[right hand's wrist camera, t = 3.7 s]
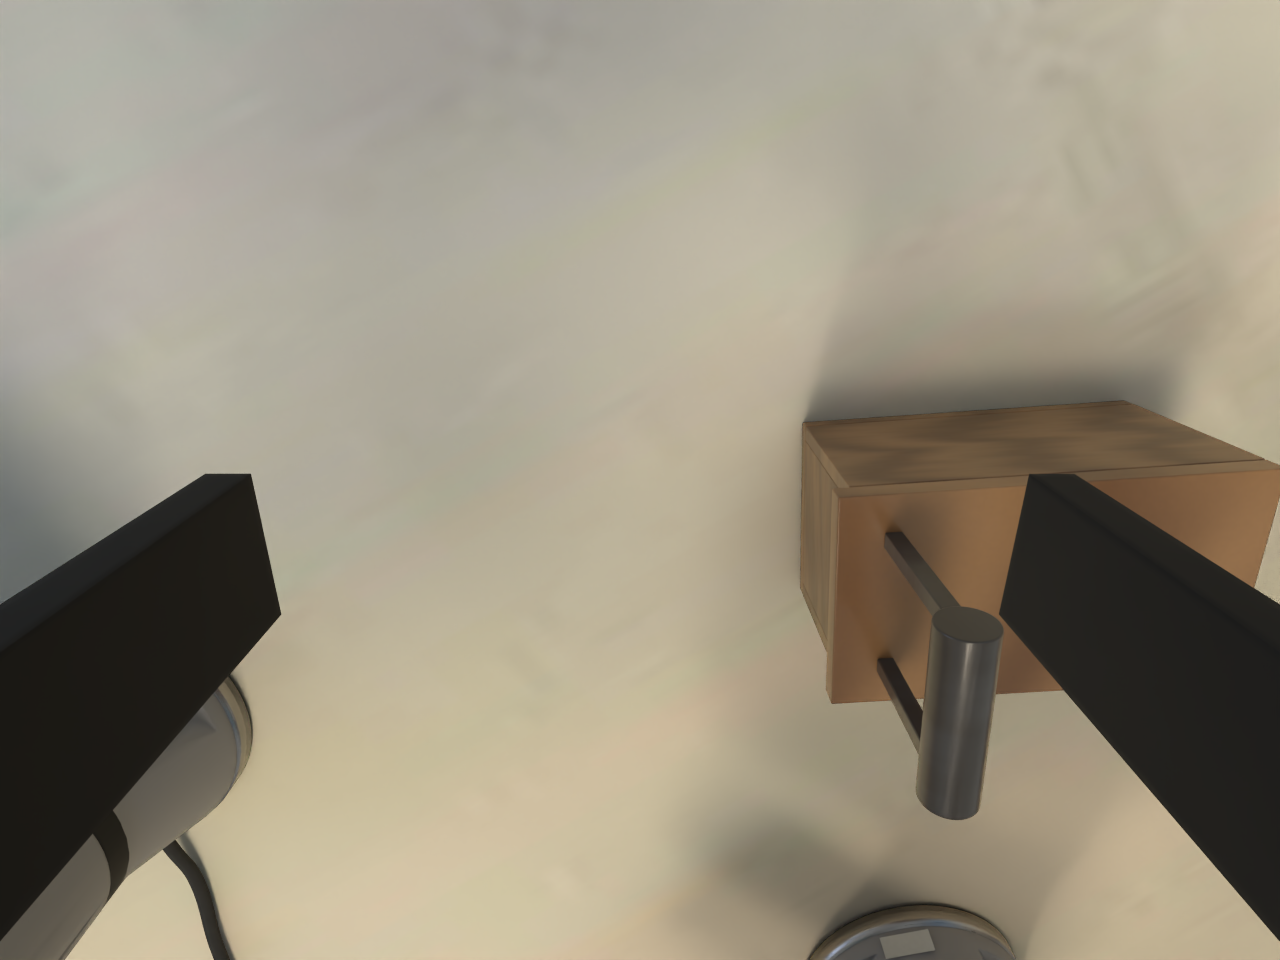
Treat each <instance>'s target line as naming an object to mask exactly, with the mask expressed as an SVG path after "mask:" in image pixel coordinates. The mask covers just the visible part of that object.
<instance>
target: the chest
mask: <svg viewBox="0 0 1280 960" xmlns="http://www.w3.org/2000/svg"><path fill="white" fill-rule="evenodd" d="M1258 460H1265V459H1264V458H1261V457H1259V456H1257V455H1254V454H1252V453H1249V452H1247V451H1245V450H1242V449H1240V448H1237V447H1235V446H1233V445H1230V444H1228V443H1226V442H1223V441H1221V440H1218V439H1216V438H1214V437H1211V436H1209V435H1206V434H1204V433H1202V432H1199V431H1197V430H1194V429H1192V428H1190V427H1187V426H1185V425H1182V424H1180V423H1178V422H1175V421H1173V420H1170V419H1168V418H1166V417H1163V416H1161V415H1158V414H1156V413H1154V412H1151V411H1149V410H1146V409H1144V408H1142V407H1139V406H1137V405H1134V404H1131V403H1129V402H1126V401H1110V402H1096V403H1081V404H1067V405H1052V406H1037V407H1023V408H1008V409H993V410H979V411H964V412H949V413H935V414H920V415H905V416H891V417H876V418H862V419H847V420H832V421H818V422H804V423H803V430H802V504H801V578H800V588H801V591H802V593H803V596H804V598H805V601H806V603H807V606H808V608H809V610H810V613H811V615H812V618H813V620H814V622H815V625H816V627H817V630H818V632H819V635H820V637H821V639H822V642H823V644H824V647H825V649H826V651H827V641H828V609H829V576H830V543H831V511H832V489H833V488H848V487H863V486H878V485H893V484H909V483H924V482H939V481H954V480H969V479H985V478H1000V477H1015V476H1029V474H1060V473H1076V472H1091V471H1106V470H1121V469H1136V468H1151V467H1167V466H1182V465H1197V464H1212V463H1227V462H1242V461H1258Z"/></svg>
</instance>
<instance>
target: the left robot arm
mask: <svg viewBox="0 0 1280 960" xmlns="http://www.w3.org/2000/svg"><path fill="white" fill-rule="evenodd" d="M810 960H1016V958H1015V956H1014V954H1013V952H1012V950H1011V948H1010V946H1009V944H1008V943H1007V941H1006V939H1005V938H1004V937H1003V935H1002V934H1001V933H1000V932H999V931H998V930H997V929H996V928H995V927H993V926H992V925H991V924H989V923H988V922H986V921H985V920H983V919H981V918H979V917H977V916H975V915H973V914H970V913H968V912H965V911H961V910H958V909H953V908H948V907H941V906H929V905H916V906H904V907H897V908H892V909H887V910H883V911H879V912H876V913H873V914H870V915H867V916H864V917H862V918H860V919H857V920H855V921H853V922H851V923H849V924H848V925H846V926H844V927H842V928H841V929H839V930H838V931H836V932H835V933H834V934H832V935H831V936H830V937H829V938H827V939H826V940H825V941H824V942H823V943H822V944H821V945H820V946H819V948H818V949H817V950H816V951H815V952H814V954H813V955H812V957H811V958H810Z"/></svg>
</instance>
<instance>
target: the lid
mask: <svg viewBox="0 0 1280 960" xmlns="http://www.w3.org/2000/svg"><path fill="white" fill-rule="evenodd" d="M1060 474H1076V475H1077V476H1079V477H1080V478H1082V479H1083V480H1085V481H1087V482H1088V483H1090V484H1091V485H1093V486H1094V487H1096V488H1098V489H1099V490H1101V491H1102V492H1104V493H1105V494H1107V495H1109V496H1110V497H1112V498H1113V499H1115V500H1116V501H1118V502H1120V503H1121V504H1123V505H1124V506H1126V507H1127V508H1129V509H1131V510H1132V511H1134V512H1135V513H1137V514H1138V515H1140V516H1141V517H1143V518H1145V519H1146V520H1148V521H1149V522H1151V523H1152V524H1154V525H1156V526H1157V527H1159V528H1160V529H1162V530H1163V531H1165V532H1167V533H1168V534H1170V535H1171V536H1173V537H1174V538H1176V539H1178V540H1179V541H1181V542H1182V543H1184V544H1185V545H1187V546H1189V547H1190V548H1192V549H1193V550H1195V551H1196V552H1198V553H1200V554H1201V555H1203V556H1204V557H1206V558H1207V559H1209V560H1211V561H1212V562H1214V563H1215V564H1217V565H1218V566H1220V567H1222V568H1223V569H1225V570H1226V571H1228V572H1229V573H1231V574H1233V575H1234V576H1236V577H1237V578H1239V579H1240V580H1242V581H1244V582H1245V583H1247V584H1248V585H1250V586H1251V587H1253V588H1254V586H1255V583H1256V579H1257V576H1258V572H1259V569H1260V565H1261V562H1262V558H1263V554H1264V551H1265V547H1266V544H1267V540H1268V537H1269V533H1270V530H1271V526H1272V523H1273V519H1274V515H1275V512H1276V508H1277V505H1278V501H1279V498H1280V465H1278V464H1275V463H1273V462H1271V461H1268V460H1258V461H1242V462H1227V463H1212V464H1197V465H1182V466H1167V467H1151V468H1136V469H1121V470H1106V471H1091V472H1076V473H1060ZM1028 477H1029V476H1015V477H1000V478H985V479H969V480H954V481H939V482H924V483H909V484H893V485H878V486H863V487H848V488H833V489H832V511H831V543H830V576H829V609H828V641H827V674H826V691H827V693H828V696H829V698H830V701H831V703H832V704H836V703H853V702H870V701H887V700H892V702H893V704H894V706H895V708H896V710H897V712H898V714H899V716H900V718H901V720H902V722H903V724H904V726H905V728H906V730H907V732H908V734H909V736H910V738H911V740H912V742H913V744H914V746H915V748H916V750H917V752H918V754H919V758H918V769H917V780H916V794H917V797H918V799H919V801H920V802H921V803H922V805H923V806H924V807H925V808H927V809H928V810H929V811H931V812H932V813H934V814H936V815H938V816H940V817H943V818H946V819H951V820H964V819H968V818H970V817H972V816H974V815H975V814H976V813H977V812H978V810H979V808H980V803H981V796H982V789H983V782H984V774H985V767H986V760H987V753H988V745H989V738H990V731H991V724H992V716H993V709H994V702H995V695H996V694H1007V693H1024V692H1041V691H1058V690H1063V689H1062V687H1061V686H1060V685H1059V684H1058V683H1057V682H1056V680H1055V679H1054V678H1053V677H1052V676H1051V675H1050V673H1049V672H1048V671H1047V670H1046V669H1045V668H1044V666H1043V665H1042V664H1041V663H1040V662H1039V661H1038V659H1037V658H1036V657H1035V656H1034V655H1033V654H1032V653H1031V651H1030V650H1029V649H1028V648H1027V647H1026V646H1025V644H1024V643H1023V642H1022V641H1021V640H1020V639H1019V637H1018V636H1017V635H1016V634H1015V633H1014V632H1013V630H1012V629H1011V628H1010V627H1009V626H1008V625H1007V623H1006V622H1005V621H1004V620H1003V619H1002V618H1001V616H1000V615H999V611H1000V606H1001V602H1002V597H1003V592H1004V588H1005V583H1006V579H1007V574H1008V569H1009V565H1010V560H1011V555H1012V551H1013V546H1014V542H1015V537H1016V532H1017V528H1018V523H1019V518H1020V514H1021V509H1022V505H1023V500H1024V495H1025V491H1026V486H1027V481H1028ZM921 698H924V705H923V711H922V709H921V707H920V705H919V703H918V702H917V700H916V699H921Z"/></svg>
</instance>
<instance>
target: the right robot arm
mask: <svg viewBox="0 0 1280 960" xmlns="http://www.w3.org/2000/svg"><path fill="white" fill-rule="evenodd" d="M280 615H281V611H280V606H279V602H278V597H277V592H276V588H275V583H274V579H273V574H272V569H271V565H270V560H269V555H268V551H267V546H266V542H265V537H264V532H263V528H262V523H261V518H260V514H259V509H258V505H257V500H256V495H255V491H254V486H253V481H252V477H251V474H204V475H203V476H201V477H200V478H198V479H197V480H195V481H193V482H192V483H190V484H189V485H187V486H186V487H184V488H182V489H181V490H179V491H178V492H176V493H175V494H173V495H171V496H170V497H168V498H167V499H165V500H164V501H162V502H160V503H159V504H157V505H156V506H154V507H153V508H151V509H149V510H148V511H146V512H145V513H143V514H142V515H140V516H139V517H137V518H135V519H134V520H132V521H131V522H129V523H128V524H126V525H124V526H123V527H121V528H120V529H118V530H117V531H115V532H113V533H112V534H110V535H109V536H107V537H106V538H104V539H102V540H101V541H99V542H98V543H96V544H95V545H93V546H91V547H90V548H88V549H87V550H85V551H84V552H82V553H80V554H79V555H77V556H76V557H74V558H73V559H71V560H69V561H68V562H66V563H65V564H63V565H62V566H60V567H58V568H57V569H55V570H54V571H52V572H51V573H49V574H47V575H46V576H44V577H43V578H41V579H40V580H38V581H36V582H35V583H33V584H32V585H30V586H29V587H27V588H26V589H24V590H22V591H21V592H19V593H18V594H16V595H15V596H13V597H11V598H10V599H8V600H7V601H5V602H4V603H2V604H0V960H65V959H66V957H67V956H68V955H69V953H70V952H71V951H72V949H73V948H74V947H75V945H76V944H77V942H78V941H79V940H80V938H81V937H82V936H83V934H84V933H85V932H86V930H87V929H88V928H89V926H90V925H91V924H92V922H93V921H94V920H95V918H96V917H97V916H98V914H99V913H100V912H101V910H102V908H103V907H104V906H105V904H106V903H107V902H108V901H109V899H110V898H111V897H112V895H113V894H114V893H115V891H116V890H117V889H118V887H119V886H120V885H121V883H122V882H123V881H124V880H125V878H126V877H127V876H128V875H130V874H131V873H132V872H134V871H135V870H136V869H137V868H139V867H140V866H141V865H143V864H144V863H145V862H147V861H148V860H149V859H151V858H152V857H153V856H155V855H156V854H157V853H158V852H160V851H161V850H162V849H163V850H164V852H165V853H166V854H167V856H168V857H169V858H170V859H171V860H172V861H173V862H174V863H175V864H176V866H177V867H178V868H179V869H180V870H181V871H182V872H183V874H184V875H185V877H186V878H187V880H188V882H189V884H190V886H191V888H192V891H193V893H194V896H195V898H196V901H197V904H198V908H199V912H200V915H201V919H202V923H203V927H204V931H205V935H206V938H207V942H208V945H209V948H210V950H211V953H212V956H213V958H214V960H230V959H229V956H228V954H227V951H226V949H225V946H224V943H223V941H222V938H221V934H220V931H219V927H218V923H217V919H216V915H215V911H214V907H213V903H212V899H211V896H210V893H209V890H208V887H207V885H206V882H205V880H204V878H203V876H202V874H201V872H200V870H199V868H198V867H197V865H196V864H195V863H194V861H193V860H192V859H191V858H190V857H189V856H188V855H187V854H186V853H185V851H184V850H183V849H182V848H181V846H180V845H179V844H178V843H177V841H176V839H177V838H178V837H179V836H181V835H182V834H183V833H185V832H186V831H187V830H188V829H190V828H191V827H192V826H194V825H195V824H196V823H198V822H199V821H200V820H202V819H203V818H204V817H206V816H207V815H208V814H209V813H210V812H211V811H212V810H213V809H214V808H216V807H217V806H218V805H219V804H220V803H221V801H222V800H223V799H224V798H225V796H226V795H227V794H228V792H229V791H230V789H231V788H232V786H233V785H234V784H235V782H236V781H237V779H238V778H239V776H240V775H241V773H242V772H243V770H244V768H245V766H246V763H247V761H248V758H249V754H250V750H251V741H252V735H251V725H250V719H249V715H248V712H247V709H246V706H245V704H244V701H243V699H242V697H241V695H240V693H239V692H238V690H237V688H236V687H235V685H234V684H233V682H232V681H231V679H230V678H229V677H228V676H229V675H230V673H231V672H232V671H233V670H234V669H235V668H236V666H237V665H238V664H239V663H240V662H241V661H242V659H243V658H244V657H245V656H246V655H247V654H248V653H249V651H250V650H251V649H252V648H253V647H254V646H255V644H256V643H257V642H258V641H259V640H260V639H261V637H262V636H263V635H264V634H265V633H266V632H267V630H268V629H269V628H270V627H271V626H272V625H273V623H274V622H275V621H276V620H277V619H278V618H279V616H280ZM999 615H1000V616H1001V618H1002V619H1003V620H1004V621H1005V622H1006V623H1007V625H1008V626H1009V627H1010V628H1011V629H1012V630H1013V632H1014V633H1015V634H1016V635H1017V636H1018V637H1019V639H1020V640H1021V641H1022V642H1023V643H1024V644H1025V646H1026V647H1027V648H1028V649H1029V650H1030V651H1031V653H1032V654H1033V655H1034V656H1035V657H1036V658H1037V659H1038V661H1039V662H1040V663H1041V664H1042V665H1043V666H1044V668H1045V669H1046V670H1047V671H1048V672H1049V673H1050V675H1051V676H1052V677H1053V678H1054V679H1055V680H1056V682H1057V683H1058V684H1059V685H1060V686H1061V687H1062V689H1063V690H1064V691H1065V692H1066V693H1067V694H1068V696H1069V697H1070V698H1071V699H1072V700H1073V701H1074V703H1075V704H1076V705H1077V706H1078V707H1079V708H1080V710H1081V711H1082V712H1083V713H1084V714H1085V715H1086V716H1087V718H1088V719H1089V720H1090V721H1091V722H1092V723H1093V725H1094V726H1095V727H1096V728H1097V729H1098V730H1099V732H1100V733H1101V734H1102V735H1103V736H1104V737H1105V739H1106V740H1107V741H1108V742H1109V743H1110V744H1111V746H1112V747H1113V748H1114V749H1115V750H1116V751H1117V753H1118V754H1119V755H1120V756H1121V757H1122V758H1123V760H1124V761H1125V762H1126V763H1127V764H1128V765H1129V767H1130V768H1131V769H1132V770H1133V771H1134V772H1135V774H1136V775H1137V776H1138V777H1139V778H1140V779H1141V780H1142V782H1143V783H1144V784H1145V785H1146V786H1147V787H1148V789H1149V790H1150V791H1151V792H1152V793H1153V794H1154V796H1155V797H1156V798H1157V799H1158V800H1159V801H1160V803H1161V804H1162V805H1163V806H1164V807H1165V808H1166V810H1167V811H1168V812H1169V813H1170V814H1171V815H1172V817H1173V818H1174V819H1175V820H1176V821H1177V822H1178V824H1179V825H1180V826H1181V827H1182V828H1183V829H1184V831H1185V832H1186V833H1187V834H1188V835H1189V836H1190V838H1191V839H1192V840H1193V841H1194V842H1195V843H1196V844H1197V846H1198V847H1199V848H1200V849H1201V850H1202V851H1203V853H1204V854H1205V855H1206V856H1207V857H1208V858H1209V860H1210V861H1211V862H1212V863H1213V864H1214V865H1215V867H1216V868H1217V869H1218V870H1219V871H1220V872H1221V874H1222V875H1223V876H1224V877H1225V878H1226V879H1227V881H1228V882H1229V883H1230V884H1231V885H1232V886H1233V888H1234V889H1235V890H1236V891H1237V892H1238V893H1239V895H1240V896H1241V897H1242V898H1243V899H1244V900H1245V902H1246V903H1247V904H1248V905H1249V906H1250V907H1251V908H1252V910H1253V911H1254V912H1255V913H1256V914H1257V915H1258V917H1259V918H1260V919H1261V920H1262V921H1263V922H1264V924H1265V925H1266V926H1267V927H1268V928H1269V929H1270V931H1271V932H1272V933H1273V934H1274V935H1275V936H1276V938H1277V939H1278V940H1279V941H1280V604H1278V603H1276V602H1275V601H1273V600H1272V599H1270V598H1269V597H1267V596H1265V595H1264V594H1262V593H1261V592H1259V591H1258V590H1256V589H1254V588H1253V587H1251V586H1250V585H1248V584H1247V583H1245V582H1244V581H1242V580H1240V579H1239V578H1237V577H1236V576H1234V575H1233V574H1231V573H1229V572H1228V571H1226V570H1225V569H1223V568H1222V567H1220V566H1218V565H1217V564H1215V563H1214V562H1212V561H1211V560H1209V559H1207V558H1206V557H1204V556H1203V555H1201V554H1200V553H1198V552H1196V551H1195V550H1193V549H1192V548H1190V547H1189V546H1187V545H1185V544H1184V543H1182V542H1181V541H1179V540H1178V539H1176V538H1174V537H1173V536H1171V535H1170V534H1168V533H1167V532H1165V531H1163V530H1162V529H1160V528H1159V527H1157V526H1156V525H1154V524H1152V523H1151V522H1149V521H1148V520H1146V519H1145V518H1143V517H1141V516H1140V515H1138V514H1137V513H1135V512H1134V511H1132V510H1131V509H1129V508H1127V507H1126V506H1124V505H1123V504H1121V503H1120V502H1118V501H1116V500H1115V499H1113V498H1112V497H1110V496H1109V495H1107V494H1105V493H1104V492H1102V491H1101V490H1099V489H1098V488H1096V487H1094V486H1093V485H1091V484H1090V483H1088V482H1087V481H1085V480H1083V479H1082V478H1080V477H1079V476H1077V475H1076V474H1029V477H1028V481H1027V486H1026V491H1025V495H1024V500H1023V505H1022V509H1021V514H1020V518H1019V523H1018V528H1017V532H1016V537H1015V542H1014V546H1013V551H1012V555H1011V560H1010V565H1009V569H1008V574H1007V579H1006V583H1005V588H1004V592H1003V597H1002V602H1001V606H1000V611H999Z"/></svg>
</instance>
